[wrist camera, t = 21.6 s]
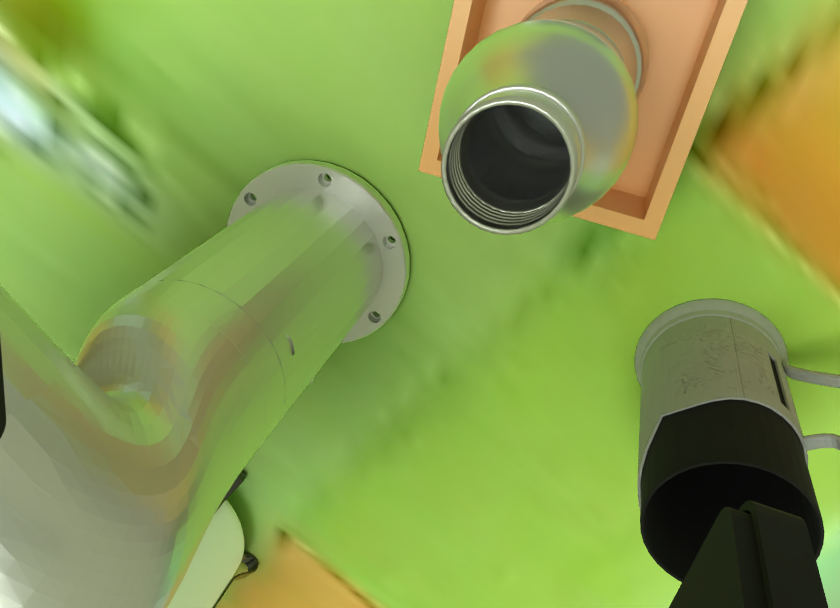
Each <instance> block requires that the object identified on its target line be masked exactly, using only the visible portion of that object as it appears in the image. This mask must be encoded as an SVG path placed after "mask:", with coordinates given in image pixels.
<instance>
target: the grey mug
mask: <svg viewBox="0 0 840 608" xmlns="http://www.w3.org/2000/svg"><path fill="white" fill-rule="evenodd" d="M635 371H636V375H637V379H638V382H639V384H640V386H641V406H640V432H639V459H638V499H639V507H640V511H641V512H640V525H641V534H642V538H643V541H644V544H645V546H646V548H647V550H648V552H649V554H650V555H651V556H652V557H653V559H654V560H655V561H656V563H657V564H658V565H659V566H660V567H661V568H663V569H664V570H665V571H666V572H667V573H668V574H670V575H671V576H673V577H674V578H676V579H677V580H679V581H681V582H683V580H684V578H685V577H686V575H687V573H688V571H689V569H690V567H691V565H692V563H693V562H694V560H695V558H696V556H697V554H698V552H699V550H700V548H701V547H702V545H703V543H704V541H705V539H706V537H707V535H708V533H709V531H710V530H711V528H712V526H713V524H714V522H715V520H716V518H717V516H718V515H719V513H720V512H721V510H722V509H723V508H724V507H730V508H733V509H736V510H739V508H740V507H741V505H743V504H744V503H745V502H746V501H750V500H751V501H754V502H757V503H760V504H763V505H766V506H769V507H772V508H775V509H778V510H781V511H784V512H787V513H790V514H793V515H795V516H798V517H801V518H802V519H803V520H804V521H805V523H806V525H807V528H808V532H809V536H810V540H811V543H812V547H813V551H814V555H815V559H816V560H817V558H818V557H819V555H820V552H821V549H822V546H823V541H824V527H823V521H822V517H821V513H820V510H819V506H818V503H817V499H816V495H815V492H814V488H813V485H812V481H811V478H810V474H809V470H808V455H807V450H812V449H818V448H835V449H838V450H840V436H838V435H835V434H814V435H808V436H803V434H802V431H801V427H800V424H799V420H798V417H797V413H796V410H795V406H794V403H793V399H792V396H791V393H790V389H789V386H788V382H787V379H786V376H788V377H790V378H792V379H795V380H799V381H803V382H807V383H812V384H818V385H824V386H829V387H836V388H840V375H836V374H830V373H823V372H817V371H811V370H806V369H801V368H796V367H793V366H790V365H789V362H788V354H787V348H786V345H785V343H784V340H783V338H782V336H781V334H780V333H779V331H778V330H777V328H776V327H775V326H774V325H773V324H772V323H771V322H770V321H769V320H768V319H767V318H766V317H765V316H764V315H762V314H761V313H759V312H758V311H756V310H755V309H752V308H750V307H748V306H746V305H744V304H741V303H737V302H734V301H730V300H723V299H699V300H694V301H688V302H685V303H682V304H679V305H676V306H674V307H672V308H670V309H669V310H667V311H665V312H663V313H662V314H661V315H659V316H658V317H657V318H655V319H654V320H653V321H652V322H651V323H650V325H649V326H648V327H647V328H646V329H645V331H644V333H643V334H642V336H641V337H640V340H639V342H638V345H637V347H636V353H635Z"/></svg>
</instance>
